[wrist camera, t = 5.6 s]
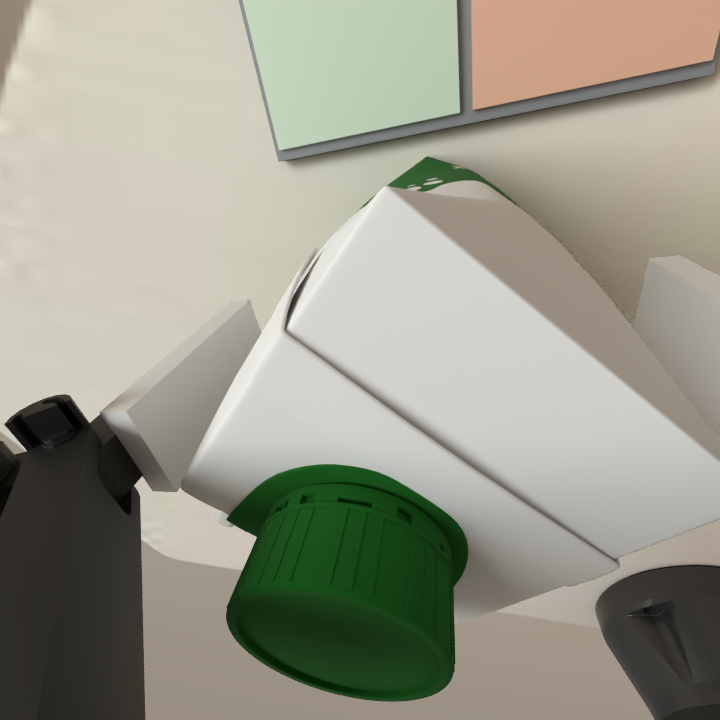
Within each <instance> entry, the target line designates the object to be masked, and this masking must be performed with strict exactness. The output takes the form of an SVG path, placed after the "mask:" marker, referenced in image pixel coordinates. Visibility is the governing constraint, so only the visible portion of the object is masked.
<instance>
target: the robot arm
mask: <svg viewBox="0 0 720 720" xmlns="http://www.w3.org/2000/svg"><path fill="white" fill-rule="evenodd" d="M633 329H634V330H635V331H636V333H637V334H638V335H639V337H640V338H641V339H642V340H643V342H644V343H645V344H646V346H647V347H648V348H649V350H650V351H651V352H652V353H653V355H654V356H655V357H656V359H657V360H658V361H659V363H660V364H661V365H662V366H663V368H664V369H665V370H666V372H667V373H668V374H669V376H670V377H671V378H672V380H673V381H674V382H675V383H676V385H677V386H678V387H679V389H680V390H681V391H682V392H683V394H684V395H685V396H686V398H687V399H688V400H689V401H690V403H691V404H692V405H693V407H694V408H695V409H696V410H697V412H698V413H699V414H700V416H701V417H702V418H703V420H704V421H705V422H706V423H707V425H708V426H709V427H710V428H711V429H712V430H713V431H714V432H715V433H716V435H717V436H718V437H719V438H720V276H719V275H717V274H715V273H713V272H711V271H709V270H707V269H705V268H703V267H701V266H699V265H698V264H696V263H694V262H692V261H690V260H688V259H686V258H684V257H682V256H680V255H675V256H665V257H656V258H649V259H648V263H647V268H646V272H645V277H644V281H643V285H642V290H641V294H640V299H639V303H638V307H637V312H636V316H635V321H634V325H633ZM260 335H261V331H260V328H259V325H258V322H257V320H256V317H255V314H254V311H253V308H252V305H251V302H250V300H243V301H233V302H231V303H230V304H228V305H227V306H226V307H225V308H224V309H222V310H221V311H220V312H219V313H218V314H216V315H215V316H214V317H213V318H212V319H211V320H209V321H208V322H207V323H206V324H205V325H203V326H202V327H201V328H200V329H199V330H197V331H196V332H195V333H194V334H193V335H191V336H190V337H189V338H188V339H187V340H185V341H184V342H183V343H182V344H181V345H179V346H178V347H177V348H176V349H175V350H173V351H172V352H171V353H170V354H169V355H168V356H166V357H165V358H164V359H163V360H162V361H160V362H159V363H158V364H157V365H156V366H154V367H153V368H152V369H151V370H150V371H148V372H147V373H146V374H145V375H144V376H142V377H141V378H140V379H139V380H138V381H136V382H135V383H134V384H133V385H132V386H131V387H129V388H128V389H127V390H126V391H125V392H123V393H122V394H121V395H120V396H119V397H117V398H116V399H115V400H114V401H113V402H111V403H110V404H109V405H108V406H107V407H105V408H104V409H103V410H102V411H101V412H99V413H100V415H99V416H98V417H96V418H95V419H94V420H93V421H92V422H91V423H89V422H88V420H87V419H86V418H85V416H84V415H83V413H82V412H81V411H80V409H79V408H78V406H77V405H76V404H75V402H74V401H73V399H72V398H71V396H69V395H65V394H64V395H56V396H52V397H49V398H45V399H43V400H40V401H38V402H36V403H33V404H31V405H29V406H27V407H26V408H24V409H22V410H20V411H19V412H17V413H16V414H15V415H13V416H12V417H11V418H10V419H9V420H8V421H7V422H6V423H5V426H6V427H7V428H8V429H9V430H10V431H11V433H12V434H13V435H14V436H15V437H16V438H17V440H18V441H19V442H20V443H21V444H22V445H23V446H24V448H25V449H26V450H27V452H23V453H19V454H14V453H13V452H12V451H11V450H10V449H9V448H8V447H7V446H6V444H5V443H4V442H3V441H0V720H145V694H144V693H145V692H144V649H143V608H142V568H141V567H142V565H141V521H140V495H139V493H138V491H137V489H136V488H135V487H134V485H135V484H136V483H137V481H138V480H139V479H140V478H141V477H142V476H143V477H144V479H145V480H146V482H147V483H148V485H149V486H150V488H151V489H152V491H163V492H177V491H178V489H179V488H180V487H181V482H182V480H183V478H184V476H185V474H186V472H187V470H188V468H189V466H190V464H191V462H192V460H193V458H194V456H195V454H196V452H197V450H198V448H199V446H200V444H201V442H202V440H203V438H204V436H205V434H206V432H207V430H208V428H209V426H210V424H211V422H212V420H213V418H214V416H215V414H216V412H217V410H218V409H219V407H220V405H221V403H222V401H223V399H224V397H225V395H226V394H227V392H228V390H229V388H230V386H231V384H232V382H233V380H234V379H235V377H236V375H237V374H238V372H239V370H240V369H241V367H242V365H243V364H244V362H245V360H246V358H247V357H248V355H249V353H250V352H251V350H252V348H253V347H254V345H255V343H256V341H257V340H258V338H259V336H260ZM596 615H597V619H598V622H599V625H600V628H601V631H602V634H603V637H604V639H605V641H606V643H607V645H608V646H609V648H610V649H611V651H612V652H613V654H614V656H615V657H616V659H617V660H618V662H619V663H620V665H621V666H622V668H623V670H624V671H625V673H626V674H627V676H628V677H629V679H630V680H631V682H632V684H633V685H634V687H635V688H636V690H637V692H638V693H639V694H640V696H641V698H642V699H643V701H644V702H645V704H646V706H647V707H648V709H649V710H650V712H651V714H652V715H653V717H654V719H655V720H720V568H716V567H702V566H685V567H672V568H663V569H657V570H652V571H647V572H644V573H640V574H637V575H634V576H631V577H628V578H626V579H623V580H621V581H619V582H617V583H616V584H614V585H612V586H611V587H609V588H608V589H607V590H606V591H605V592H603V594H602V595H601V596H600V597H599V599H598V601H597V604H596Z"/></svg>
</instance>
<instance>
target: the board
mask: <svg viewBox="0 0 720 720" xmlns="http://www.w3.org/2000/svg"><path fill="white" fill-rule="evenodd" d="M239 3H240V7H241V11H242V16H243V20H244V24H245V28H246V32H247V36H248V40H249V44H250V48H251V52H252V56H253V60H254V64H255V68H256V72H257V76H258V80H259V84H260V88H261V92H262V97H263V101H264V105H265V109H266V113H267V117H268V121H269V125H270V129H271V133H272V137H273V141H274V145H275V149H276V153H277V157H278V161H285V160H290V159H295V158H300V157H305V156H310V155H315V154H320V153H325V152H330V151H335V150H340V149H345V148H350V147H355V146H360V145H365V144H370V143H375V142H380V141H385V140H390V139H395V138H400V137H405V136H410V135H415V134H420V133H425V132H430V131H435V130H440V129H445V128H450V127H455V126H460V125H465V124H470V123H475V122H480V121H484V120H489V119H494V118H499V117H504V116H509V115H514V114H519V113H524V112H529V111H534V110H539V109H544V108H549V107H554V106H559V105H564V104H569V103H574V102H579V101H584V100H589V99H594V98H599V97H604V96H609V95H614V94H619V93H624V92H629V91H634V90H639V89H644V88H649V87H654V86H659V85H664V84H669V83H674V82H679V81H684V80H689V79H694V78H699V77H703V76H708V75H712V74H713V73H714V69H715V65H716V61H717V57H718V53H719V49H720V0H239Z"/></svg>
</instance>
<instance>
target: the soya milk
mask: <svg viewBox="0 0 720 720" xmlns="http://www.w3.org/2000/svg"><path fill="white" fill-rule="evenodd" d="M317 251H318V249H317V248H315V249H314V250H313V251H312V253H311V254H310V255H309V256H308V258H307V259H306V261H305V262H304V264H303V265H302V267H301V268H300V270H299V271H298V273H297V274H296V276H295V278H294V279H293V281H292V282H291V284H290V286H289V287H288V289H287V290H286V292H285V294H284V295H283V297H282V299H281V300H280V302H279V304H278V306H277V308H276V309H275V311H274V313H273V315H272V317H271V319H270V320H269V322H268V323H267V325H266V327H265V328H264V330H263V332H262V333H261V335H260V336H259V338H258V340H257V341H256V343H255V345H254V347H253V348H252V350H251V352H250V353H249V355H248V357H247V358H246V360H245V362H244V364H243V365H242V367H241V369H240V370H239V372H238V374H237V375H236V377H235V379H234V380H233V382H232V384H231V386H230V388H229V390H228V392H227V394H226V395H225V397H224V399H223V401H222V403H221V405H220V407H219V409H218V410H217V412H216V414H215V416H214V418H213V420H212V422H211V424H210V426H209V428H208V430H207V432H206V434H205V436H204V438H203V440H202V442H201V444H200V446H199V448H198V450H197V452H196V454H195V456H194V458H193V460H192V462H191V464H190V466H189V468H188V470H187V472H186V474H185V476H184V478H183V480H182V482H181V489H182V490H183V491H185V492H186V493H188V494H189V495H191V496H193V497H195V498H196V499H198V500H200V501H202V502H204V503H206V504H208V505H210V506H212V507H214V508H216V509H218V510H220V511H222V512H224V513H226V514H227V515H229V516H228V517H227V519H226V520H227V521H228V522H230V523H232V524H234V525H235V526H237V527H239V528H240V529H242V530H244V531H246V532H248V533H250V534H252V535H254V536H256V537H257V539H256V541H255V544H254V546H253V548H252V550H251V553H250V555H249V557H248V560H247V562H246V564H245V566H244V569H243V571H242V573H241V576H240V578H239V580H238V582H237V585H236V587H235V589H234V591H233V594H232V596H231V598H230V601H229V603H228V606H227V613H226V620H227V624H228V627H229V630H230V631H231V633H232V635H233V637H234V638H235V639H236V641H237V642H238V643H239V644H240V645H241V646H242V647H243V648H244V649H245V650H246V651H247V652H248V653H250V654H251V655H252V656H254V657H255V658H256V659H258V660H259V661H260V662H262V663H263V664H265V665H267V666H268V667H270V668H272V669H273V670H275V671H277V672H279V673H281V674H283V675H285V676H287V677H289V678H291V679H294V680H296V681H298V682H301V683H303V684H306V685H309V686H311V687H314V688H317V689H320V690H324V691H327V692H331V693H334V694H338V695H343V696H347V697H352V698H358V699H365V700H373V701H408V700H409V701H410V700H416V699H421V698H425V697H428V696H431V695H434V694H436V693H438V692H440V691H441V690H443V689H444V688H445V687H446V686H447V685H448V684H449V682H450V681H451V679H452V676H453V672H454V664H455V637H454V636H455V635H454V634H455V633H454V625H456V624H459V623H462V622H465V621H468V620H470V619H473V618H476V617H479V616H482V615H485V614H487V613H490V612H493V611H496V610H498V609H501V608H504V607H507V606H509V605H512V604H515V603H518V602H520V601H523V600H526V599H529V598H531V597H534V596H537V595H540V594H542V593H545V592H548V591H551V590H553V589H556V588H559V587H561V586H575V585H578V584H581V583H584V582H587V581H590V580H593V579H596V578H598V577H601V576H603V575H606V574H608V573H611V572H613V571H614V570H616V569H618V568H619V567H620V563H619V559H618V558H620V557H622V556H625V555H627V554H630V553H633V552H635V551H638V550H640V549H643V548H645V547H648V546H651V545H653V544H656V543H658V542H661V541H664V540H666V539H669V538H671V537H674V536H677V535H679V534H682V533H684V532H687V531H690V530H692V529H695V528H697V527H700V526H703V525H705V524H708V523H711V522H713V521H716V520H718V519H720V440H719V439H718V438H717V436H716V435H715V434H714V433H713V431H712V430H711V429H710V427H709V426H708V425H707V423H706V422H705V421H704V420H703V418H702V417H701V416H700V414H699V413H698V412H697V410H696V409H695V408H694V407H693V405H692V404H691V403H690V401H689V400H688V399H687V398H686V396H685V395H684V394H683V392H682V391H681V390H680V389H679V387H678V386H677V385H676V383H675V382H674V381H673V380H672V378H671V377H670V376H669V374H668V373H667V372H666V370H665V369H664V368H663V366H662V365H661V364H660V363H659V361H658V360H657V359H656V357H655V356H654V355H653V353H652V352H651V351H650V350H649V348H648V347H647V346H646V344H645V343H644V342H643V340H642V339H641V338H640V337H639V335H638V334H637V333H636V331H635V330H634V329H633V327H632V326H631V325H630V323H629V322H628V321H627V320H626V318H625V317H624V316H623V314H622V313H621V312H620V311H619V309H618V308H617V307H616V305H615V304H614V303H613V301H612V300H611V299H610V298H609V297H608V295H607V294H606V293H605V292H604V291H603V289H602V288H601V287H600V286H599V285H598V284H597V282H596V281H595V280H594V279H593V278H592V277H591V276H590V275H589V274H588V273H587V272H586V271H585V270H584V269H583V268H582V267H581V266H580V265H579V264H578V263H577V261H576V260H575V259H574V258H573V257H572V256H571V255H570V253H569V252H568V251H567V250H566V249H565V248H564V247H563V246H562V245H561V244H560V243H559V242H558V241H557V240H556V239H555V238H554V237H553V236H552V235H551V234H550V233H549V232H548V231H547V230H545V229H544V228H543V227H542V226H541V225H540V224H539V223H538V222H536V221H535V220H534V219H533V218H532V217H531V216H530V215H528V214H527V213H526V212H525V211H524V210H523V209H522V208H520V207H519V206H518V205H517V204H516V203H515V202H513V201H512V200H511V199H510V198H509V197H508V196H506V195H505V194H504V193H503V192H502V191H500V190H499V189H498V188H496V187H495V186H493V185H492V184H491V183H489V182H488V181H486V180H485V179H484V178H482V177H481V176H479V175H478V174H476V173H475V172H473V171H471V170H468V169H465V168H462V167H459V166H456V165H453V164H450V163H446V162H443V161H440V160H436V159H433V158H430V157H426V158H424V159H423V160H422V161H420V162H419V163H418V164H416V165H415V166H413V167H412V168H411V169H409V170H408V171H407V172H405V173H404V174H402V175H401V176H400V177H398V178H397V179H395V180H394V181H393V182H391V183H390V184H389V185H387V186H385V187H383V188H382V189H381V190H380V191H379V192H378V193H377V194H376V195H375V196H373V197H372V198H371V199H370V200H369V201H368V202H367V203H366V204H365V205H363V206H362V207H361V208H360V209H359V210H358V211H357V212H356V213H355V214H354V215H352V216H351V217H350V218H349V219H348V220H347V221H346V222H345V223H344V224H343V225H341V226H340V227H339V228H338V230H337V231H336V232H335V233H334V234H333V235H332V236H331V237H330V239H329V240H328V241H327V242H326V244H325V245H324V246H323V248H322V249H321V250H320V252H319V253H318V255H317V256H316V258H315V259H314V261H313V263H312V264H311V266H310V267H309V269H308V270H307V272H306V273H305V275H304V277H303V278H302V280H301V281H300V283H299V285H298V286H297V284H298V282H299V280H300V278H301V276H302V274H303V273H304V271H305V270H306V268H307V266H308V265H309V263H310V262H311V260H312V259H313V257H314V255H315V254H316V252H317ZM296 286H297V288H296Z"/></svg>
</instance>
